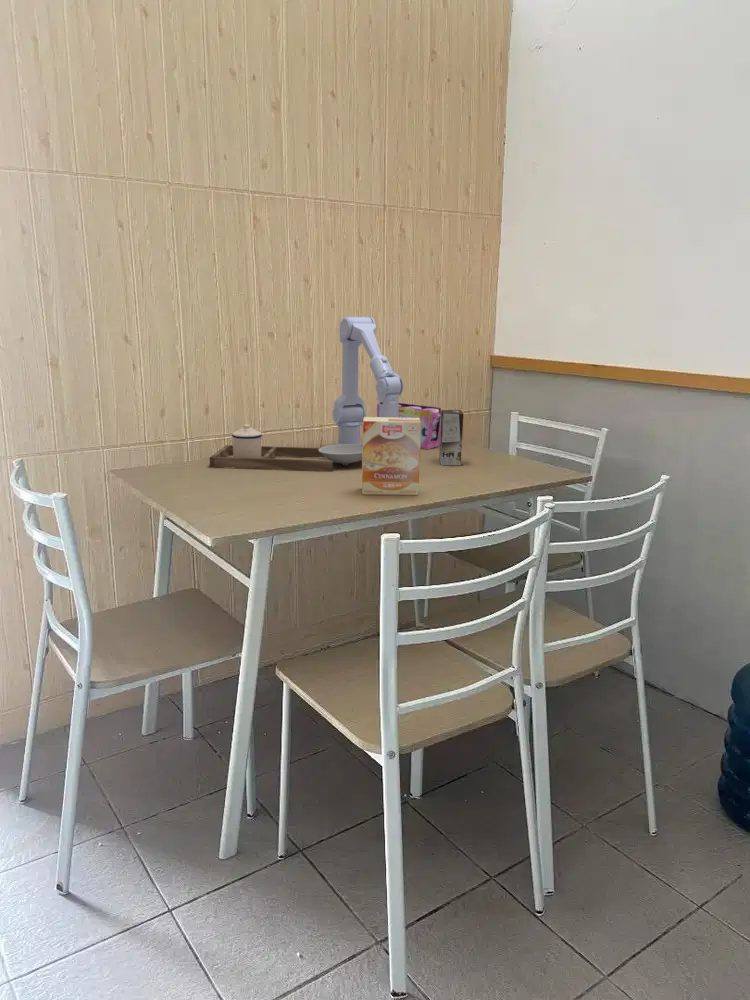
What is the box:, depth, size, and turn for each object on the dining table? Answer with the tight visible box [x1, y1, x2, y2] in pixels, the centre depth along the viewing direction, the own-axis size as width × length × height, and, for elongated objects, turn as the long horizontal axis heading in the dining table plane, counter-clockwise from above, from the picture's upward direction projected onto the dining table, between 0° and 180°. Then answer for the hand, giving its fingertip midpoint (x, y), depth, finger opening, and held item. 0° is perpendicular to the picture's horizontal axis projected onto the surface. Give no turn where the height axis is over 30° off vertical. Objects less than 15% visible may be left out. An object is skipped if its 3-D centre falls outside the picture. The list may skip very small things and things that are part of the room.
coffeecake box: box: [361, 416, 421, 496], centre depth 196 cm, size 15×7×20 cm, turn 91°
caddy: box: [209, 444, 334, 472], centre depth 230 cm, size 19×36×3 cm, turn 86°
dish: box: [318, 443, 363, 466], centre depth 229 cm, size 18×14×5 cm
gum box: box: [376, 402, 442, 450], centre depth 262 cm, size 24×8×14 cm, turn 51°
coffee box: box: [438, 409, 464, 466], centre depth 233 cm, size 9×6×16 cm
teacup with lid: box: [231, 423, 263, 458], centre depth 230 cm, size 12×9×12 cm
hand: (387, 461), depth 228 cm, fingers closed
